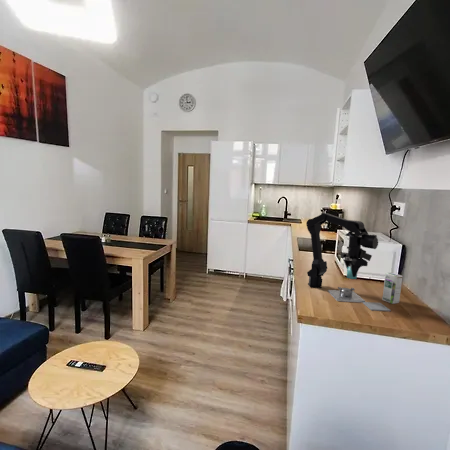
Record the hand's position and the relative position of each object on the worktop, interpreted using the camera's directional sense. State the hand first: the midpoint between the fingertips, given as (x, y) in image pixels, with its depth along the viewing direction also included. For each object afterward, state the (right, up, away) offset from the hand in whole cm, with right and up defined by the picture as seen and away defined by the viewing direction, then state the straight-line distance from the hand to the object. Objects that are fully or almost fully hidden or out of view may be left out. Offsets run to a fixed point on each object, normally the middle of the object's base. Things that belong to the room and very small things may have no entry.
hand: (351, 275), depth 147 cm
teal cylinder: (0, -1, 0) cm, 1 cm away
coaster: (+8, -14, -9) cm, 18 cm away
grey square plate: (-2, -12, +3) cm, 13 cm away
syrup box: (+20, -14, 0) cm, 24 cm away
